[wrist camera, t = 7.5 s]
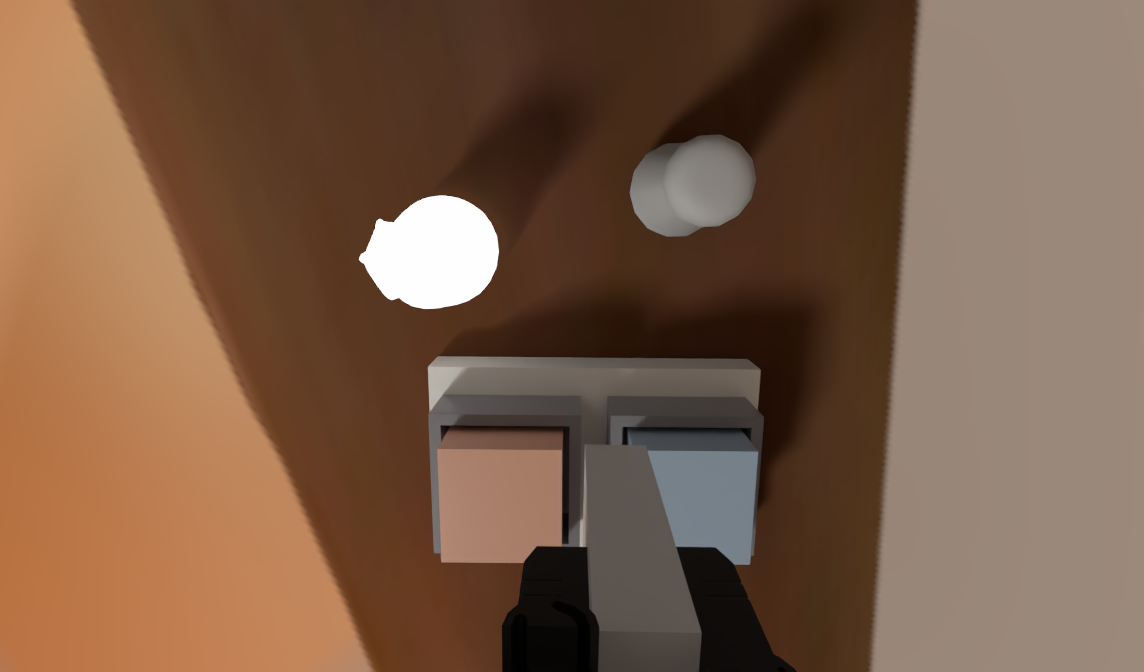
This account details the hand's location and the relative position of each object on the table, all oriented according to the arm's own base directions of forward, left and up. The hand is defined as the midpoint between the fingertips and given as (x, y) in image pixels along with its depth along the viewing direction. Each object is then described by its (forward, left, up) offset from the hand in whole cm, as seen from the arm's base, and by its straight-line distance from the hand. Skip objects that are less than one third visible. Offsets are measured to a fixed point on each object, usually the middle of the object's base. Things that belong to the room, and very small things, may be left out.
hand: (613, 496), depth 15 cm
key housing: (+10, 0, -28) cm, 29 cm away
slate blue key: (+10, +6, -23) cm, 25 cm away
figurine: (-4, -10, -28) cm, 30 cm away
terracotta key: (+10, -5, -23) cm, 25 cm away
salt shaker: (-8, +5, -28) cm, 30 cm away
